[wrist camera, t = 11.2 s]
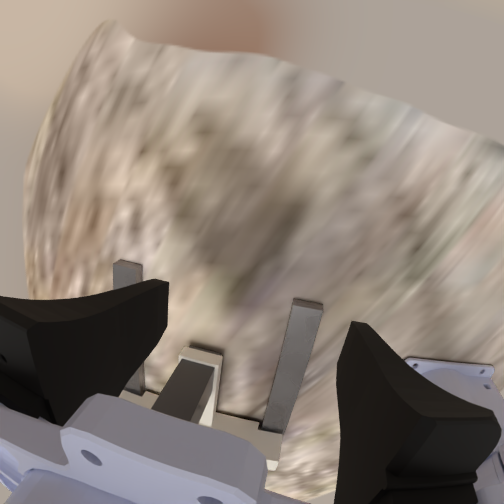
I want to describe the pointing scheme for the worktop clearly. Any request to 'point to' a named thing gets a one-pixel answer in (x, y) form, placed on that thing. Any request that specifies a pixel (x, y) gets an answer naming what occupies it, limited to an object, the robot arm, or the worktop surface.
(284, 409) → the rails
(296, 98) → the worktop surface
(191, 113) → the worktop surface
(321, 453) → the worktop surface
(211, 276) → the worktop surface
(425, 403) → the robot arm
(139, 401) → the pusher bar
